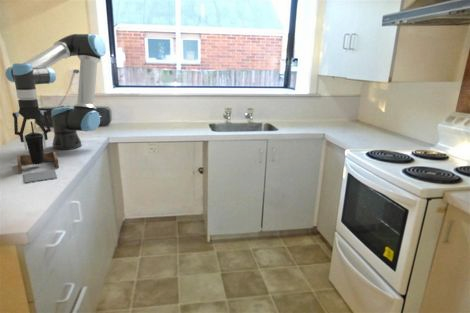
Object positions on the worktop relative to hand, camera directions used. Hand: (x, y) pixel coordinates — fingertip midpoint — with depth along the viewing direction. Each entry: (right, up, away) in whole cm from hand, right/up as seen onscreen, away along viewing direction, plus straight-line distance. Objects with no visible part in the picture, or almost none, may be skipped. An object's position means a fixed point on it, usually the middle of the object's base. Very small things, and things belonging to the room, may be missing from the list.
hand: (35, 147), depth 154 cm
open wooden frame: (0, -9, +3) cm, 10 cm away
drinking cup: (0, -7, +2) cm, 8 cm away
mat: (+8, -13, -10) cm, 18 cm away
